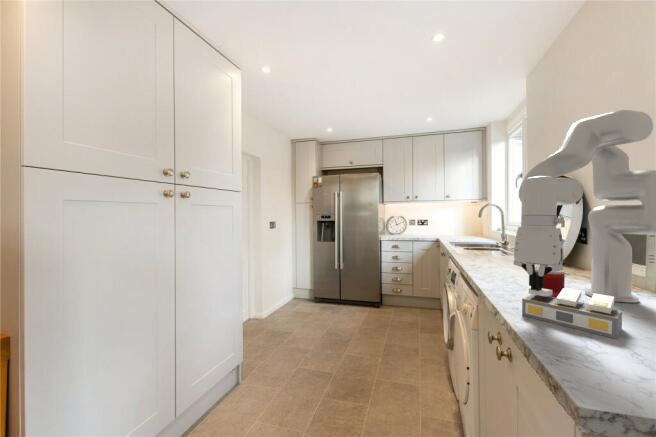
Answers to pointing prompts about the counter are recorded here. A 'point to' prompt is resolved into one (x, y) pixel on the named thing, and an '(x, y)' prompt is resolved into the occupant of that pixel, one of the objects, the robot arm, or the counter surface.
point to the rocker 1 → (541, 292)
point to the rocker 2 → (569, 297)
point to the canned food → (554, 281)
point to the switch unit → (573, 315)
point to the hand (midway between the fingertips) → (536, 289)
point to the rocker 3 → (601, 303)
